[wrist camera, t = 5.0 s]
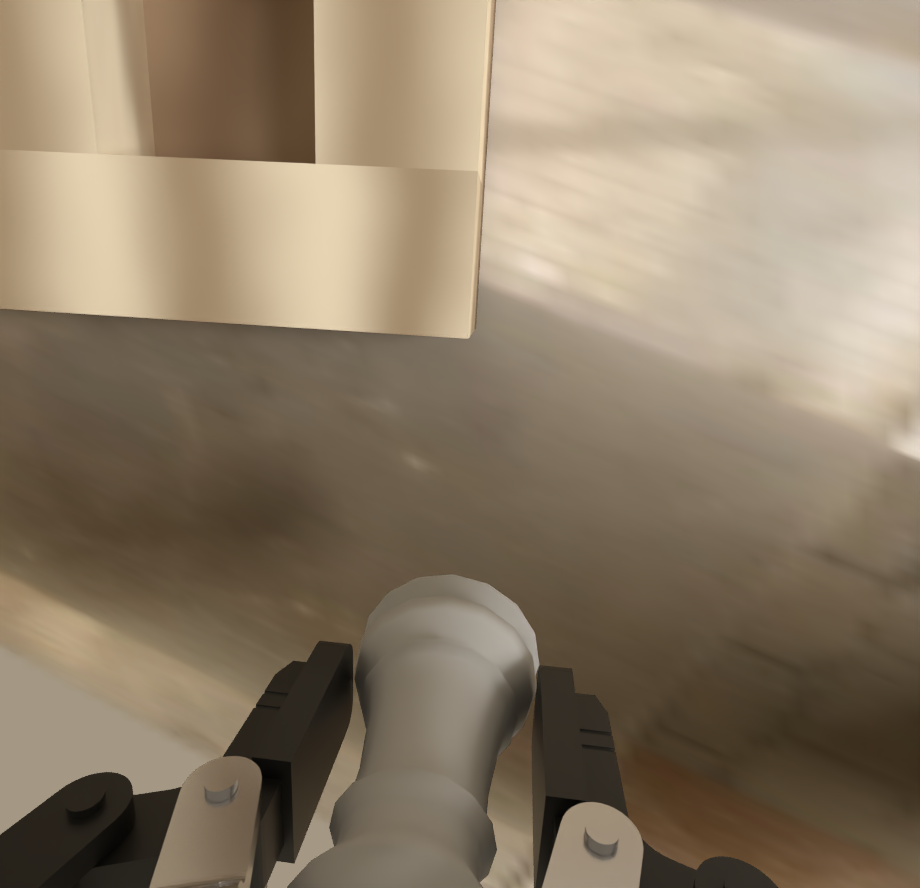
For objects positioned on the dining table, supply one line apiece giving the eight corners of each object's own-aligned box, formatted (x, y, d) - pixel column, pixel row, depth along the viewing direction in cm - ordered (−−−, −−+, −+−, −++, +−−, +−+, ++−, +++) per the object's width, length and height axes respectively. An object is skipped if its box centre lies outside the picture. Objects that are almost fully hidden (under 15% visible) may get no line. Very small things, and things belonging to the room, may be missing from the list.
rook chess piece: (366, 707, 16) (217, 1103, 8) (366, 557, 15) (193, 855, 7) (531, 726, 15) (539, 1161, 8) (546, 573, 14) (572, 909, 7)
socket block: (509, -221, 17) (509, -364, 13) (475, 328, 22) (468, 338, 18) (-1, -221, 18) (-136, -354, 14) (66, 302, 23) (-25, 306, 19)
